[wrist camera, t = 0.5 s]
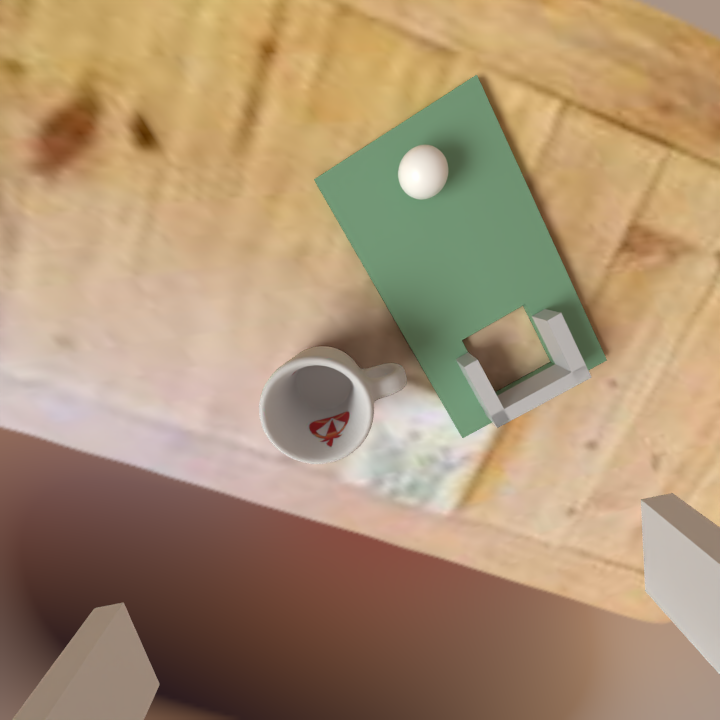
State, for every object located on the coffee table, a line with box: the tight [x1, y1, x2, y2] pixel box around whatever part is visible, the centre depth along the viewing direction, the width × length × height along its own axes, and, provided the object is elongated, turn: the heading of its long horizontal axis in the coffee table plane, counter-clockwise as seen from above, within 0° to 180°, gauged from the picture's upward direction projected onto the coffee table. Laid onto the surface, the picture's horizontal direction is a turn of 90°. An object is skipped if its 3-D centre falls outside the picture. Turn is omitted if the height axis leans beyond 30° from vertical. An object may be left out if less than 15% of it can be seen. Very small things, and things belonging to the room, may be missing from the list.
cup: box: [259, 346, 407, 464], centre depth 31 cm, size 11×8×8 cm
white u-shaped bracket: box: [456, 309, 591, 428], centre depth 33 cm, size 6×8×4 cm
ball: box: [398, 145, 448, 200], centre depth 29 cm, size 4×4×4 cm
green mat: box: [314, 75, 607, 438], centre depth 33 cm, size 25×14×1 cm, turn 31°
